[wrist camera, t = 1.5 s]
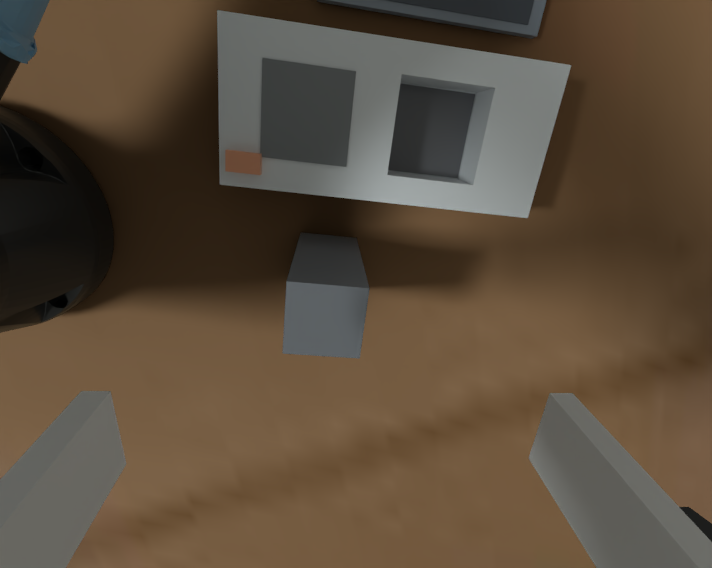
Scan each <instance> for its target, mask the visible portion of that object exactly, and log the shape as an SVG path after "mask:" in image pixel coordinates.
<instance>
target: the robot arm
mask: <svg viewBox="0 0 712 568" xmlns="http://www.w3.org/2000/svg"><path fill="white" fill-rule="evenodd" d="M48 3H49V0H0V100H1V98H2V96H3V94H4V93H5V91H6V89H7V87H8V85H9V83H10V81H11V79H12V78H13V76H14V74H15V72H16V70H17V68H18V66H19V64H20V62H21V63H26V64H28V61H29V60H30V59H31V58H32V57H33V56H34V55H35V54H36V52H37V47H36V42H35V39H34V34H35V32H36V30H37V28H38V25H39V23H40V21H41V18H42V16H43V14H44V12H45V9H46V7H47V5H48ZM112 253H113V227H112V221H111V217H110V213H109V209H108V206H107V204H106V201H105V199H104V196H103V194H102V192H101V190H100V188H99V186H98V184H97V183H96V181H95V179H94V178H93V176H92V175H91V173H90V172H89V170H88V169H87V168H86V166H85V165H84V164H83V163H82V161H81V160H80V159H79V158H78V157H77V156H76V155H75V153H74V152H73V151H72V150H71V149H70V148H69V147H68V146H67V145H65V144H64V143H63V142H62V141H61V140H60V139H59V138H57V137H56V136H55V135H54V134H52V133H51V132H50V131H48V130H47V129H45V128H44V127H42V126H41V125H40V124H38V123H36V122H35V121H33V120H31V119H29V118H27V117H26V116H24V115H22V114H20V113H17V112H15V111H13V110H11V109H8V108H5V107H2V106H0V333H1V332H5V331H10V330H14V329H19V328H23V327H28V326H32V325H36V324H40V323H43V322H46V321H48V320H51V319H53V318H55V317H57V316H59V315H61V314H63V313H65V312H66V311H68V310H69V309H71V308H72V307H74V306H75V305H77V304H78V303H80V302H81V301H83V300H84V299H85V298H87V297H88V296H89V295H90V294H91V293H93V291H94V290H95V289H96V288H97V287H98V286H99V284H100V283H101V282H102V280H103V278H104V277H105V275H106V273H107V271H108V268H109V265H110V262H111V258H112ZM529 460H530V461H531V463H532V464H533V466H534V468H535V469H536V471H537V473H538V474H539V476H540V477H541V479H542V481H543V482H544V484H545V485H546V487H547V489H548V490H549V492H550V493H551V495H552V497H553V498H554V500H555V502H556V503H557V505H558V506H559V508H560V510H561V511H562V513H563V514H564V516H565V518H566V519H567V521H568V522H569V524H570V526H571V527H572V529H573V531H574V532H575V534H576V535H577V537H578V539H579V540H580V542H581V543H582V545H583V547H584V548H585V550H586V551H587V553H588V555H589V556H590V558H591V560H592V561H593V563H594V564H595V566H596V568H712V524H711V523H710V522H709V521H707V520H706V519H704V518H703V517H702V516H700V515H699V514H698V513H696V512H695V511H693V510H692V509H691V508H689V507H679V506H678V505H677V504H676V503H675V502H674V501H673V500H672V499H671V498H670V497H669V496H668V495H667V494H666V493H665V492H664V490H663V489H662V488H661V487H660V486H659V485H658V484H657V483H656V482H655V481H654V480H653V479H652V478H651V477H650V476H649V474H648V473H647V472H646V471H645V470H644V469H643V468H642V467H641V466H640V465H639V464H638V463H637V462H636V461H635V460H634V458H633V457H632V456H631V455H630V454H629V453H628V452H627V451H626V450H625V449H624V448H623V447H622V446H621V445H620V444H619V442H618V441H617V440H616V439H615V438H614V437H613V436H612V435H611V434H610V433H609V432H608V431H607V430H606V429H605V427H604V426H603V425H602V424H601V423H600V422H599V421H598V420H597V419H596V418H595V417H594V416H593V415H592V414H591V413H590V411H589V410H588V409H587V408H586V407H585V406H584V405H583V404H582V403H581V402H580V401H579V400H578V399H577V398H576V397H575V395H574V394H573V393H550V394H549V397H548V400H547V403H546V406H545V409H544V413H543V416H542V419H541V422H540V425H539V428H538V431H537V434H536V437H535V440H534V443H533V446H532V449H531V452H530V455H529ZM125 465H126V460H125V456H124V451H123V447H122V442H121V437H120V433H119V428H118V424H117V419H116V415H115V410H114V405H113V401H112V396H111V392H110V391H81V392H80V393H79V394H78V395H77V396H76V398H75V399H74V400H73V401H72V402H71V403H70V404H69V405H68V406H67V407H66V408H65V410H64V411H63V412H62V413H61V414H60V415H59V416H58V417H57V418H56V419H55V420H54V422H53V423H52V424H51V425H50V426H49V427H48V428H47V429H46V430H45V431H44V433H43V434H42V435H41V436H40V437H39V438H38V439H37V440H36V441H35V442H34V443H33V445H32V446H31V447H30V448H29V449H28V450H27V451H26V452H25V453H24V454H23V455H22V457H21V458H20V459H19V460H18V461H17V462H16V463H15V464H14V465H13V466H12V468H11V469H10V470H9V471H8V472H7V473H6V474H5V475H4V476H3V477H2V478H1V480H0V568H66V566H67V565H68V563H69V561H70V559H71V558H72V556H73V554H74V553H75V551H76V549H77V547H78V546H79V544H80V542H81V541H82V539H83V537H84V535H85V534H86V532H87V530H88V529H89V527H90V525H91V523H92V522H93V520H94V518H95V517H96V515H97V513H98V511H99V510H100V508H101V506H102V505H103V503H104V501H105V499H106V498H107V496H108V494H109V493H110V491H111V489H112V488H113V486H114V484H115V482H116V481H117V479H118V477H119V476H120V474H121V472H122V470H123V469H124V467H125Z"/></svg>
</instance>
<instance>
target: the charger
mask: <svg viewBox="0 0 712 568" xmlns="http://www.w3.org/2000/svg"><path fill="white" fill-rule="evenodd" d="M368 295H369V285H368V281H367V277H366V273H365V269H364V265H363V261H362V257H361V254H360V250H359V246H358V242H357V238H352V237H342V236H332V235H322V234H312V233H302V232H301V233H300V237H299V240H298V243H297V247H296V250H295V254H294V257H293V261H292V264H291V268H290V271H289V274H288V278H287V281H286V300H285V318H284V337H283V353H285V354H300V355H315V356H331V357H346V358H360V351H361V344H362V337H363V330H364V323H365V316H366V309H367V302H368Z"/></svg>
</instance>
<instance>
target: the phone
mask: <svg viewBox="0 0 712 568" xmlns="http://www.w3.org/2000/svg"><path fill="white" fill-rule="evenodd" d="M317 2H322V3H328V4H334V5H340V6H346V7H351V8H357V9H363V10H369V11H375V12H380V13H386V14H392V15H398V16H404V17H409V18H415V19H421V20H427V21H433V22H438V23H444V24H450V25H456V26H462V27H467V28H473V29H479V30H485V31H491V32H496V33H502V34H508V35H514V36H520V37H526V38H531V39H532V38H535V37H537V35H538V31H539V27H540V23H541V20H542V16H543V12H544V8H545V4H546V0H317Z"/></svg>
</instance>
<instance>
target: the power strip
mask: <svg viewBox="0 0 712 568" xmlns="http://www.w3.org/2000/svg"><path fill="white" fill-rule="evenodd" d="M217 30H218V100H219V171H220V185H228V186H237V187H247V188H256V189H265V190H274V191H283V192H292V193H302V194H311V195H320V196H329V197H338V198H347V199H357V200H366V201H375V202H384V203H393V204H402V205H412V206H421V207H430V208H439V209H448V210H457V211H467V212H476V213H485V214H494V215H503V216H512V217H522V218H528V215H529V212H530V208H531V205H532V201H533V198H534V194H535V191H536V187H537V184H538V180H539V177H540V173H541V170H542V166H543V163H544V159H545V156H546V152H547V149H548V145H549V142H550V138H551V135H552V131H553V128H554V124H555V121H556V117H557V114H558V110H559V107H560V103H561V100H562V96H563V93H564V89H565V86H566V82H567V79H568V75H569V72H570V68H571V65H567V64H561V63H554V62H548V61H541V60H535V59H529V58H522V57H516V56H509V55H503V54H497V53H490V52H484V51H477V50H471V49H464V48H458V47H452V46H445V45H439V44H432V43H426V42H419V41H413V40H407V39H400V38H394V37H387V36H381V35H375V34H368V33H362V32H355V31H349V30H342V29H336V28H330V27H323V26H317V25H310V24H304V23H297V22H291V21H285V20H278V19H272V18H265V17H259V16H253V15H246V14H240V13H233V12H227V11H220V10H217Z"/></svg>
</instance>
